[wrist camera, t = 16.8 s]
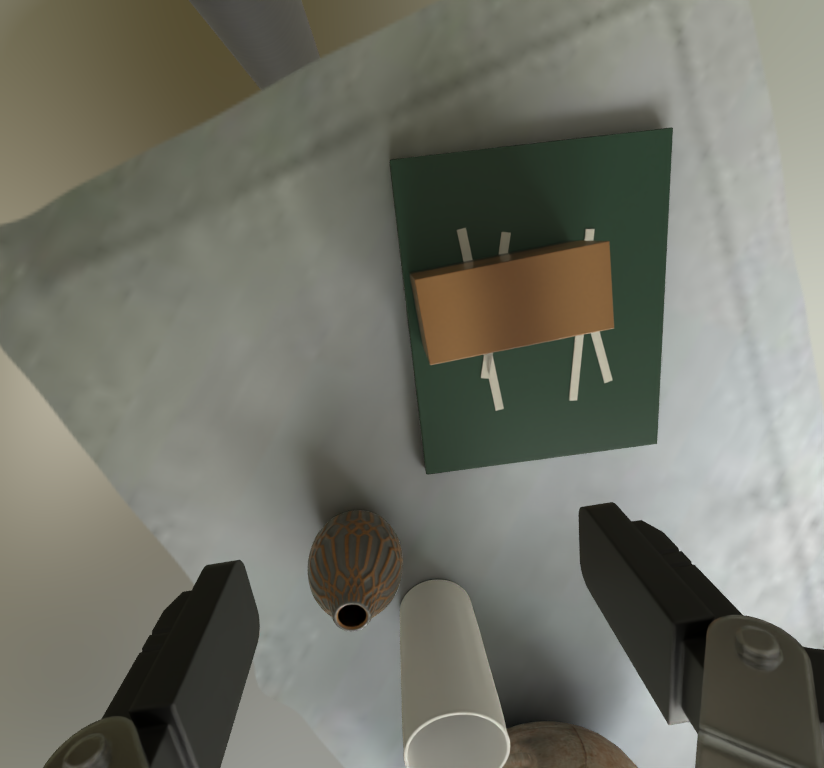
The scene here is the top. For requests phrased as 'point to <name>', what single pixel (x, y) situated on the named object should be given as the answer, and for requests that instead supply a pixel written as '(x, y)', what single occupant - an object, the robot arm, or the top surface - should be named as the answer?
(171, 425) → the top surface
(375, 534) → the vase
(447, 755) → the mug
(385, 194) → the top surface
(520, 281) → the eraser
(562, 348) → the slate board
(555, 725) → the cooking pot
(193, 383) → the top surface
